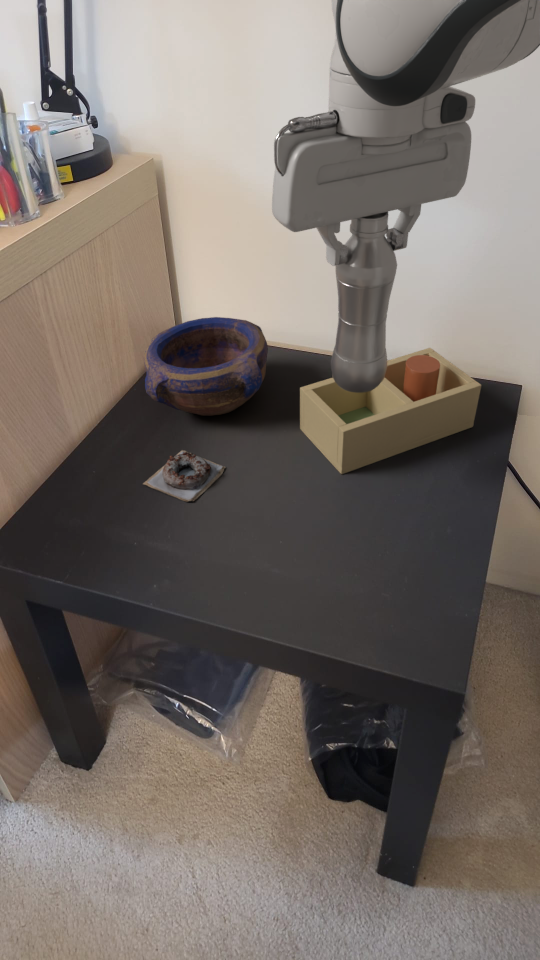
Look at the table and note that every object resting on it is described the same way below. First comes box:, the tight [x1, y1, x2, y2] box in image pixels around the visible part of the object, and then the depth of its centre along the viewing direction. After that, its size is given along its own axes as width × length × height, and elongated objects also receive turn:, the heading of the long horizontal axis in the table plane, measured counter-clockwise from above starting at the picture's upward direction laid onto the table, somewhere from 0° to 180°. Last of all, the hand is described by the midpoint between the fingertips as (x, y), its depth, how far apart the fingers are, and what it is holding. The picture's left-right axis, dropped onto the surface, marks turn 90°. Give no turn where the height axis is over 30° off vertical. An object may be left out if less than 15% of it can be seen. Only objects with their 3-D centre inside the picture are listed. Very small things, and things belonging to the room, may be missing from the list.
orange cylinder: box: [403, 355, 440, 402], centre depth 95 cm, size 5×5×8 cm
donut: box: [142, 449, 226, 503], centre depth 89 cm, size 8×8×2 cm
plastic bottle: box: [330, 211, 398, 393], centre depth 74 cm, size 6×7×20 cm
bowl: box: [143, 316, 269, 417], centre depth 100 cm, size 18×18×10 cm
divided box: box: [299, 347, 482, 475], centre depth 95 cm, size 11×22×7 cm, turn 117°
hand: (367, 255), depth 70 cm, fingers closed on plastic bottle, 6 cm apart
